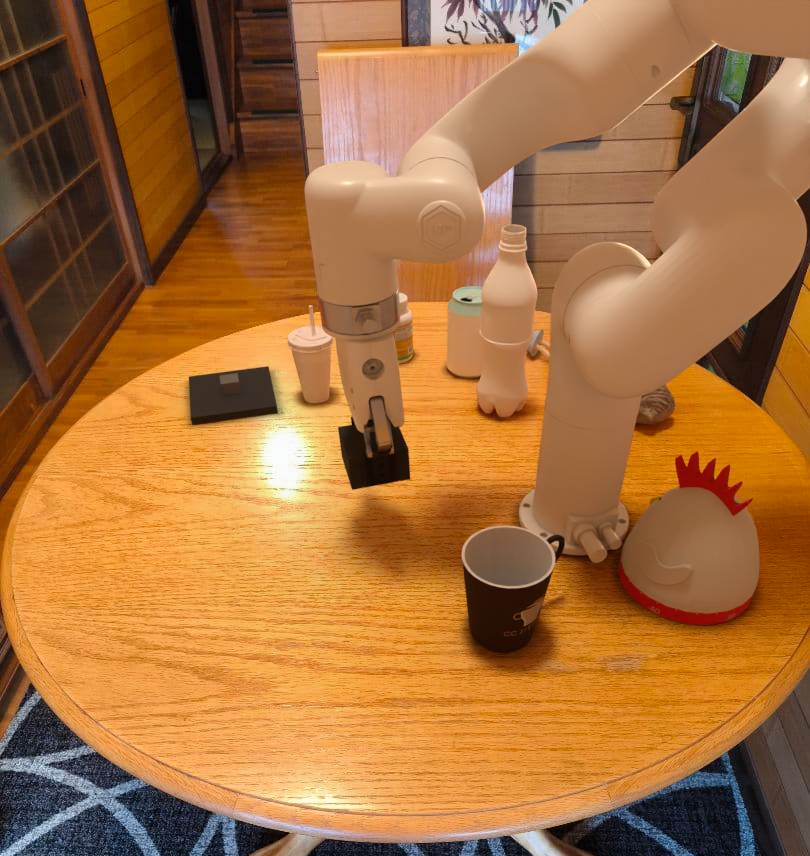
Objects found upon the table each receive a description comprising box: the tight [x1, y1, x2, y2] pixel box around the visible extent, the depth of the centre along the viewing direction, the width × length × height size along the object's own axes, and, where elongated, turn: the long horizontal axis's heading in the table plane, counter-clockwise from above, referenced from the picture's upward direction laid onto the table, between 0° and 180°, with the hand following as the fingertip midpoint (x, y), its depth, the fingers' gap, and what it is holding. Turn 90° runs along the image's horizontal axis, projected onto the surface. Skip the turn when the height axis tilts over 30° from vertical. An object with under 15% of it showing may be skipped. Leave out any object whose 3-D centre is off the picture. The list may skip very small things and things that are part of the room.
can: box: [446, 285, 483, 379], centre depth 113 cm, size 7×7×12 cm
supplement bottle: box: [393, 292, 414, 365], centre depth 118 cm, size 5×5×10 cm
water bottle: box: [475, 224, 538, 418], centre depth 100 cm, size 7×7×25 cm
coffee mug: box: [461, 525, 565, 654], centre depth 74 cm, size 12×9×10 cm
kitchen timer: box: [617, 450, 760, 626], centre depth 77 cm, size 14×14×15 cm
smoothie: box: [286, 304, 335, 404], centre depth 107 cm, size 6×6×14 cm
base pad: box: [188, 365, 279, 426], centre depth 111 cm, size 12×12×3 cm
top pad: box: [337, 419, 411, 491], centre depth 83 cm, size 6×6×4 cm
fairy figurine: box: [527, 329, 550, 361], centre depth 119 cm, size 12×5×12 cm
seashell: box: [635, 384, 676, 425], centre depth 104 cm, size 9×7×8 cm
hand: (374, 462), depth 83 cm, fingers closed on top pad, 6 cm apart
